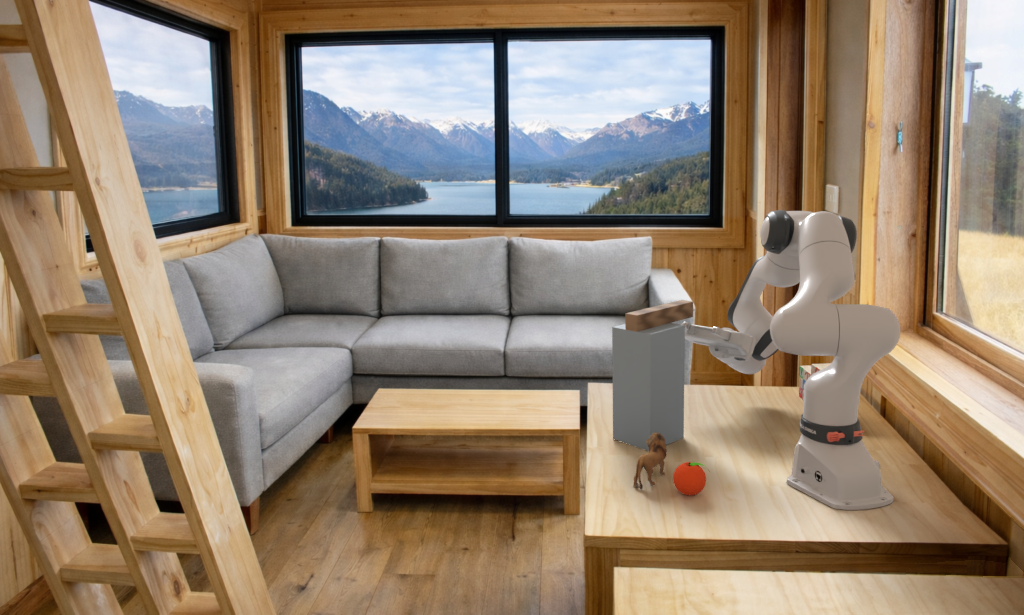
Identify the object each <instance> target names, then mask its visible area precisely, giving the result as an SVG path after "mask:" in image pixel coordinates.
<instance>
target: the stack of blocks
mask: <svg viewBox="0 0 1024 615" xmlns="http://www.w3.org/2000/svg"><path fill="white" fill-rule="evenodd" d="M831 363H832V362H830V363H829V362H827V363H811V365H799V368H798V369H799V370H798V371H799V373H798V377H799V381H798V386H799V387H798V389H799V390H798V396H799V397H800V398H801V399H802V400H804V385H805V382H806V381H807V379H808V378H809V377H810V376H811V375H812V374H814V373H816V372H818V371H820V370H822V369H824V368H826V367H828V366H829V365H830V364H831Z"/></svg>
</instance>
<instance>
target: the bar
mask: <svg viewBox="0 0 1024 615" xmlns="http://www.w3.org/2000/svg"><path fill="white" fill-rule="evenodd" d="M693 317H694V301H691V300H687V299H686V300H684V299H680V300H675V301H673V302H672V301H671V302H667V303H664V304H659V305H654V306H651V307H646V308H641V309H637V310H635V311H630V312H627V313H626V312H625V318H624V319H625V323H624V324H625V330H630V331H635V332H638V331H642V330H646V329H649V328H653V327H657V326H661V325H664V324H668V323H675V322H679V321H683V320H688V319H690V318H693Z"/></svg>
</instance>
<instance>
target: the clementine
mask: <svg viewBox="0 0 1024 615" xmlns="http://www.w3.org/2000/svg"><path fill="white" fill-rule="evenodd" d="M702 466H703V467H704V468H705V467H706V465H705V464H702V463H700V462H695V461H694V462H691V461H686V462H683V463H681V464H679V465H678V466H677V467H676V468H675V469H674V472H673V475H672V481H673V484H674V487H675V488H676V490H677V491H678V492H680V493H681V494H682V495H684V496H696V495H698V494H700V493H701V492H702V491H703V490H704V489H705V487H706V484H707V474H706V472H705V470H704V468H702ZM706 468H707V467H706ZM707 470H708V471H709V473H711V471H710V470H709V468H707Z"/></svg>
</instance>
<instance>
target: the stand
mask: <svg viewBox="0 0 1024 615" xmlns="http://www.w3.org/2000/svg"><path fill="white" fill-rule="evenodd" d="M611 328H612V329H611V334H612V335H611V337H612V341H611V342H612V347H611V348H612V349H611V351H612V353H611V354H612V355H611V356H612V360H611V361H612V440H613V439H615V440H614V441H616V440H618V441H617V442H619V441H622V442H624V443H623V444H625V443H627V444H626V445H629V444H630V446H632V447H635V446H636V447H635V448H638V449H641V450H645V451H648V452H649V447H648V445H647V444H646V440H647V439H649V438H650V436H651V435H652V433H660V434H661V435H662V436H663V437H664V438H665V442H666V446H667V445H670V444H672V443H674V442H678V441H680V440H682V439H684V435H685V434H684V432H685V430H684V426H685V424H684V423H685V422H684V421H685V356H686V355H685V351H686V350H685V348H686V346H685V344H686V343H685V340H686V339H685V325H681V324H680V323H675V322H672V323H668V324H664V325H661V326H657V327H653V328H649V329H646V330H642V331H638V332H635V331H630V330H625V323H623V324H620V325H619V324H618V325H615V326H612V327H611ZM622 442H621V443H622Z"/></svg>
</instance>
